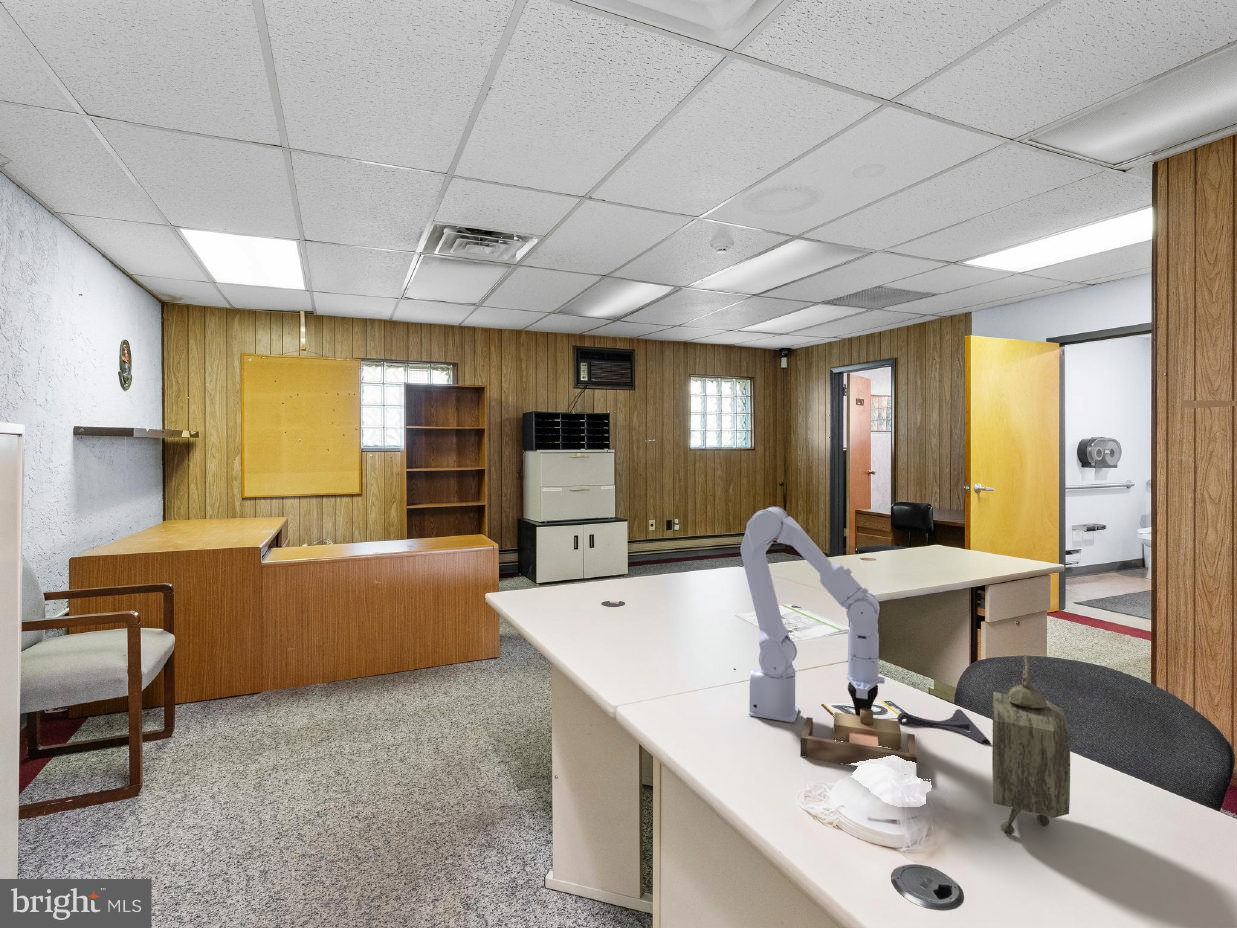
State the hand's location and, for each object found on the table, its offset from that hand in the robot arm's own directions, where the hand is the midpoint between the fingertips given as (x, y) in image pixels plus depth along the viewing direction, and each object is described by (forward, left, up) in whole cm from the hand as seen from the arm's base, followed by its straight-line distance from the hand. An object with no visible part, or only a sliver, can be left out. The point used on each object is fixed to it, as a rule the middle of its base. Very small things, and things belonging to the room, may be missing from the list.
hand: (862, 721), depth 126 cm
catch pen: (-1, -11, -2) cm, 12 cm away
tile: (0, -10, -2) cm, 10 cm away
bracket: (+14, +8, -2) cm, 16 cm away
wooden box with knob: (+1, -4, -2) cm, 5 cm away
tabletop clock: (+24, -24, -2) cm, 34 cm away
